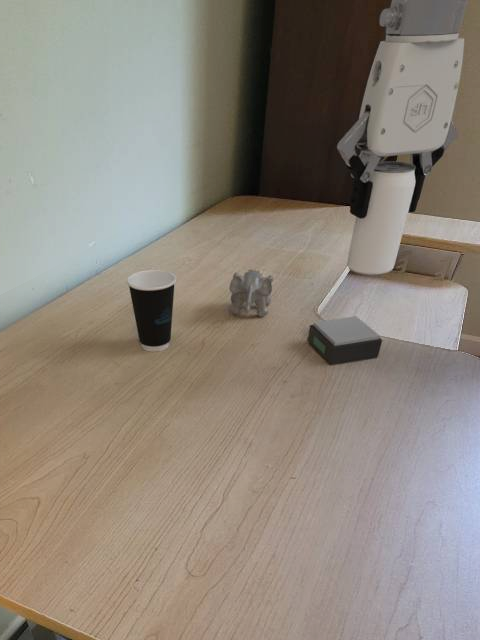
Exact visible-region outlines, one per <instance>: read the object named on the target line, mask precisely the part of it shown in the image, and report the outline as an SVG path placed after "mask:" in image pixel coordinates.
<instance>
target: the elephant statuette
mask: <svg viewBox="0 0 480 640" xmlns="http://www.w3.org/2000/svg"><path fill="white" fill-rule="evenodd" d="M273 282H274V277H273V275H272V274H269V275H268V276H265V277H263V273H262V272H260V270H259V269H258V270H257V269H248V270H247V271H246V272H244V274H243V276H242V275H240V274H239V273H238V272H235V273H234V274H233V275H232V279H231V280H230V282H229V291H230V293H231V295H230V302H231V303H232V305H230V306H229V312H230V313H231V314H233V315H235V316H237V315H240V313H241V309H242V306H243V305H244V304H245V307H244V313H245V314H246V315H248V314H250V311H251V304H254V305H255V307H256V314H257V316H258V317H260V318H264V317H265V316H267V315H268V314H269V308H268V307H269V306H270V305H271V302H272V297H271V294H272V291H273Z"/></svg>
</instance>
